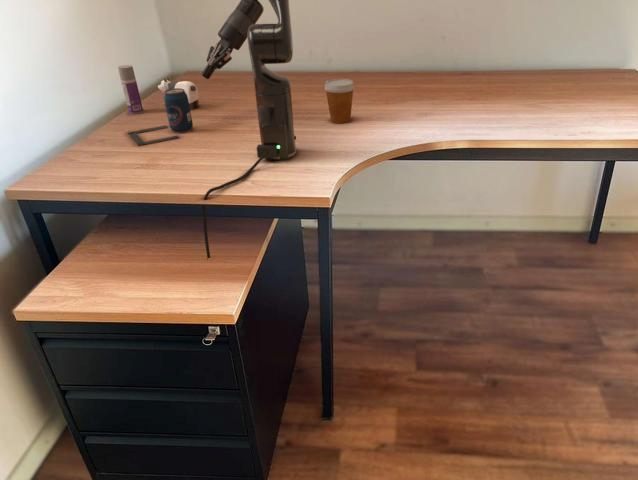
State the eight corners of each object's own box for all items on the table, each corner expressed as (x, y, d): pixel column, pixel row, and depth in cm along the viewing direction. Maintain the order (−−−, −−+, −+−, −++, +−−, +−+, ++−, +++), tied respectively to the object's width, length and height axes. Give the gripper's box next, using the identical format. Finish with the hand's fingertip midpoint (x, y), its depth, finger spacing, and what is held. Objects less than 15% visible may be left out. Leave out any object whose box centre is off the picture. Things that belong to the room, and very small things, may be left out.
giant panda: (202, 106, 192) (197, 78, 187) (194, 110, 188) (188, 81, 182) (167, 103, 196) (161, 75, 191) (157, 107, 191) (151, 79, 186)
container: (145, 109, 189) (134, 64, 181) (140, 114, 185) (130, 67, 177) (131, 110, 189) (120, 65, 181) (127, 114, 185) (115, 68, 177)
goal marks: (165, 126, 174) (165, 125, 174) (179, 138, 164) (179, 137, 164) (127, 133, 168) (127, 132, 168) (139, 146, 159) (138, 145, 159)
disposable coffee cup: (339, 114, 182) (338, 76, 175) (361, 119, 176) (360, 81, 170) (319, 121, 176) (317, 83, 169) (342, 127, 170) (340, 87, 164)
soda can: (166, 132, 168) (157, 93, 162) (177, 125, 174) (170, 87, 167) (186, 134, 167) (178, 94, 160) (197, 127, 172) (190, 88, 166)
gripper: (218, 18, 168) (187, 65, 169) (235, 23, 158) (201, 73, 159) (237, 34, 173) (206, 80, 174) (254, 41, 164) (221, 89, 165)
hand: (204, 77), depth 167 cm, fingers closed
